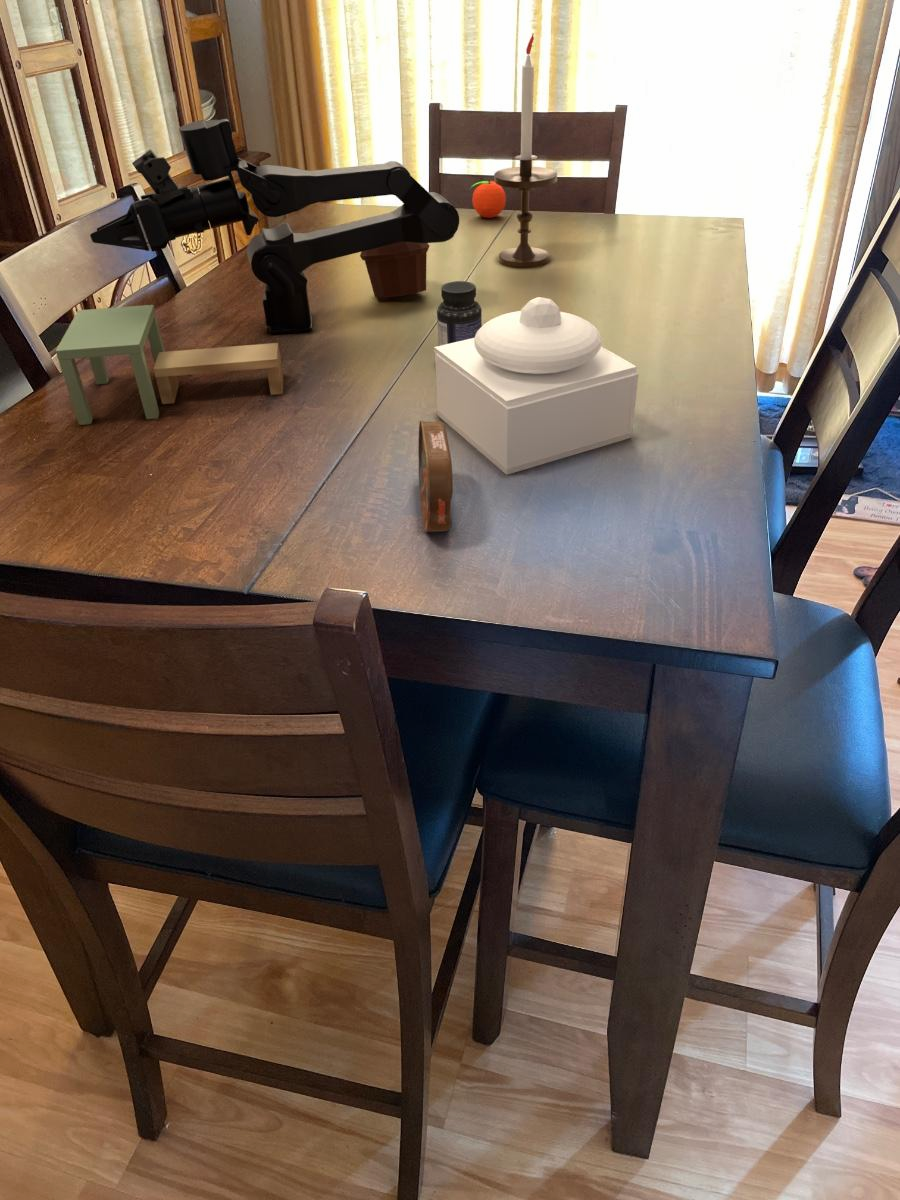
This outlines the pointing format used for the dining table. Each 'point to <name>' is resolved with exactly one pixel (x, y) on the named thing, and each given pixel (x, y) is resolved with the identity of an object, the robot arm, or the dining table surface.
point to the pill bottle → (458, 313)
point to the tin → (435, 476)
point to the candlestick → (525, 178)
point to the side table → (110, 351)
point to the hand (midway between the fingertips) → (94, 235)
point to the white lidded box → (535, 388)
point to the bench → (217, 365)
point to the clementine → (488, 199)
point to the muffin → (397, 268)
